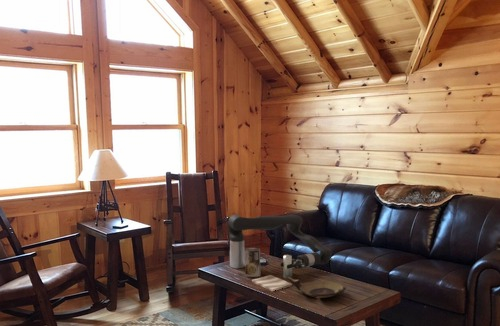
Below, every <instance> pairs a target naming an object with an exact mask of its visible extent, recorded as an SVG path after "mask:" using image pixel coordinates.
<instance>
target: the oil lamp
mask: <svg viewBox="0 0 500 326" xmlns="http://www.w3.org/2000/svg"><path fill="white" fill-rule="evenodd" d="M287 280H288V281H289V283H291V284H292V285H293V286H294V287H295V288H296V289H297V291H300V292H301V293H303V294H305V295H306V296H309V297H313V298H319V299H324V298H325V299H326V298H331V297H334V296H336V295H339V294H342V293H344V292H345V291H346V289H347V288H346V287H345V286H344V285H342V283H339V282H337V281H332V280H314V281H313V280H312V281H307V282H305V283H302V284H301V282H300V279H293V277H292V278H290V277H288V279H287Z"/></svg>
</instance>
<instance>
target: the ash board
mask: <svg viewBox="0 0 500 326" xmlns="http://www.w3.org/2000/svg"><path fill="white" fill-rule="evenodd" d="M251 282H252V283H253V284H255V285H257V286H259V285H260V286H259V287H262V288H264V289H266V290H268V291H270V292H275V290H276V291H279V290H283V289H286V288H289V287H293V286H292V285H293V284H292V283H291V282H288V281H286V280H284V279H281V278H280V277H276V276H274V275H271V274H270V275H265V276H263V277H262V276H260V277H259V278H258V277H257V278H254V279H251ZM282 288H283V289H282Z"/></svg>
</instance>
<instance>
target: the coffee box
mask: <svg viewBox="0 0 500 326" xmlns="http://www.w3.org/2000/svg"><path fill="white" fill-rule="evenodd" d="M244 259H245V266H244V272H245V273H244V277H252V278H253V277H255V278H256V277H257V278H258V277H259V278H261V248H260V247H245V248H244Z"/></svg>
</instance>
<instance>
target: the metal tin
mask: <svg viewBox="0 0 500 326" xmlns="http://www.w3.org/2000/svg"><path fill="white" fill-rule="evenodd" d="M282 256H283V257H282V262H283V266H282V268H283V271H282V272H283V273H282V274H283V279H286V280H288V277H290V278H292V279H293V268H289V269H287V265H289V264H292V259H293V258H292V257H293V256H292V254H284V255H282Z"/></svg>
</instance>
